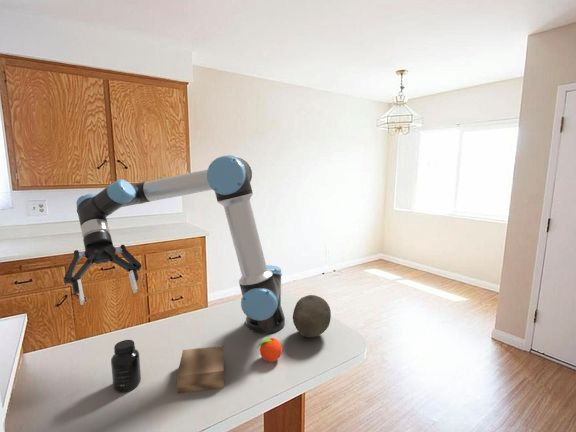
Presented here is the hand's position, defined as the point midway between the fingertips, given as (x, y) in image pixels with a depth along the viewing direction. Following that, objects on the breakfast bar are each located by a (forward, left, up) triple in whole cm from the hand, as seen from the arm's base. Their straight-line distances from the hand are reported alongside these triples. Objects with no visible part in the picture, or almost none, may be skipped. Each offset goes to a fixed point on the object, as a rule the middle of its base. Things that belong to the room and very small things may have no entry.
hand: (110, 296), depth 88 cm
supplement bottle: (-6, +9, -22) cm, 25 cm away
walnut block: (-26, +9, -22) cm, 35 cm away
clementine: (-46, +5, -22) cm, 51 cm away
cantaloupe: (-63, -6, -22) cm, 67 cm away
